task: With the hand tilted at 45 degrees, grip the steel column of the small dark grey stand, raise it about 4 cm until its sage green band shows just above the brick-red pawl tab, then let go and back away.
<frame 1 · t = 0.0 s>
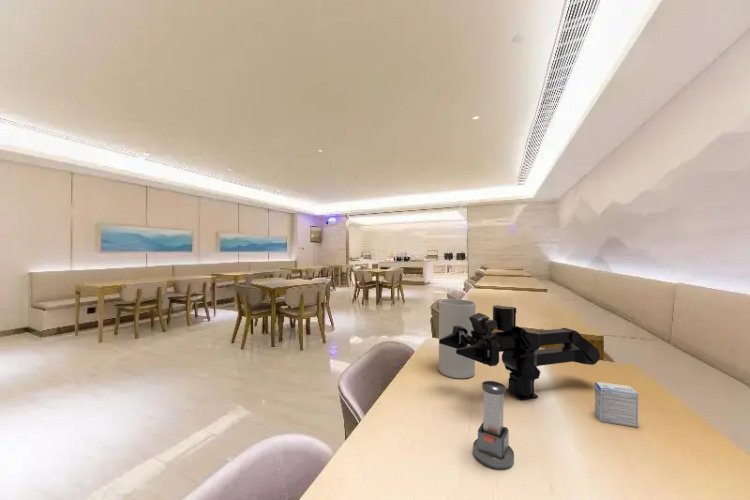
hand: (447, 346, 84), 17 cm above the table, tool horizontal, fingers open, 9 cm apart
medicine box: (615, 421, 77), on the table
cylinder vase: (456, 372, 107), on the table
column: (493, 416, 63), point 8 cm above the table, slide at 0.0 cm
stand: (493, 456, 63), on the table
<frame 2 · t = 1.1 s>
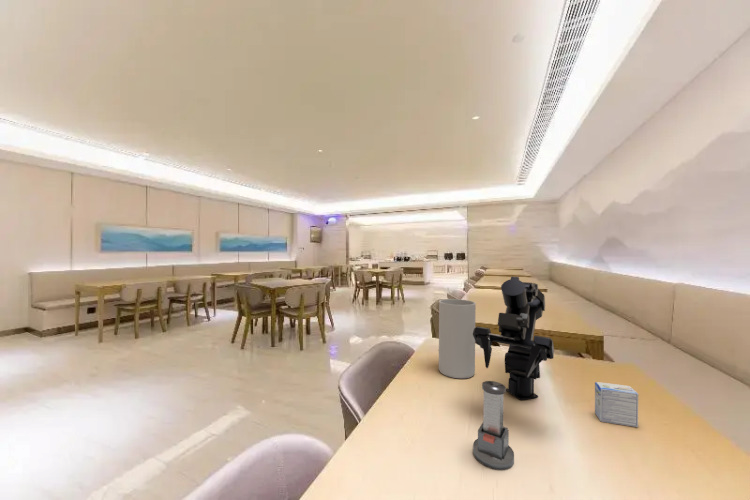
hand: (505, 371, 73), 14 cm above the table, tool tilted 45°, fingers open, 9 cm apart
nothing on the table moved.
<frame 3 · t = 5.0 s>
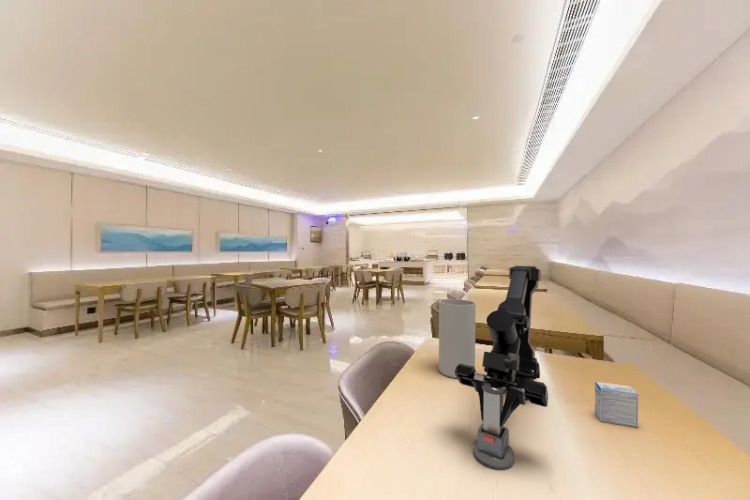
hand: (491, 423, 62), 8 cm above the table, tool tilted 45°, fingers closed on column, 3 cm apart
column: (493, 416, 63), point 8 cm above the table, slide at 0.0 cm, touching gripper
everything else where it was.
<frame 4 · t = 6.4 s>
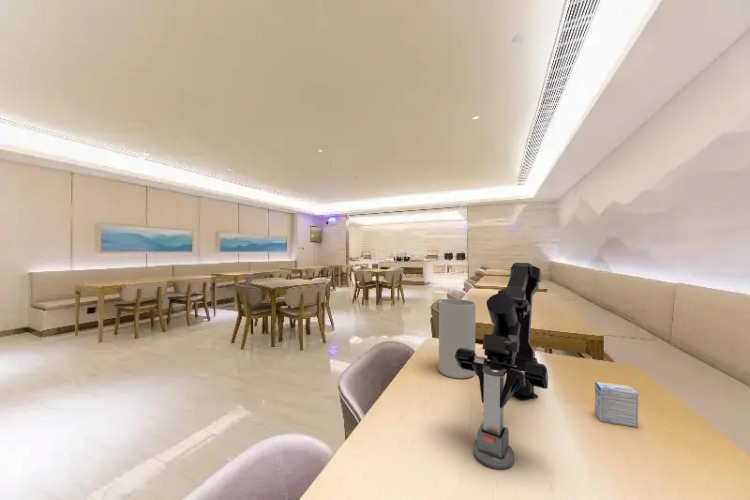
hand: (491, 404, 62), 11 cm above the table, tool tilted 45°, fingers closed on column, 3 cm apart
column: (493, 398, 63), point 12 cm above the table, slide at 3.7 cm, touching gripper
everything else where it was.
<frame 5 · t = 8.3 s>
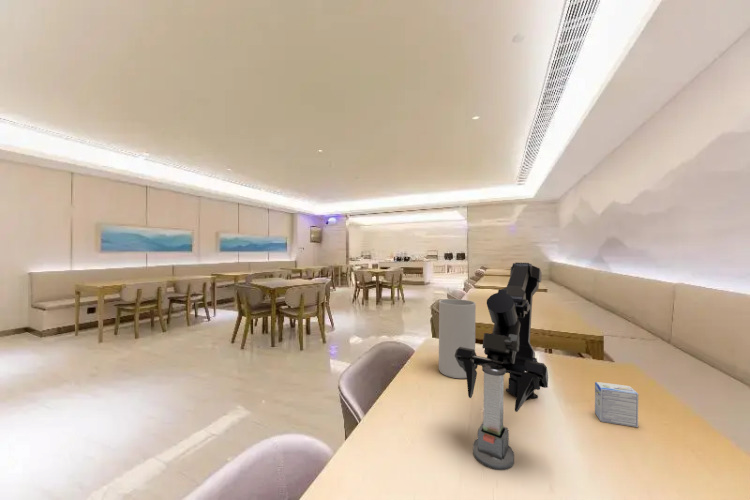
hand: (491, 403, 62), 12 cm above the table, tool tilted 45°, fingers open, 9 cm apart
column: (493, 398, 63), point 12 cm above the table, slide at 3.9 cm
everything else where it was.
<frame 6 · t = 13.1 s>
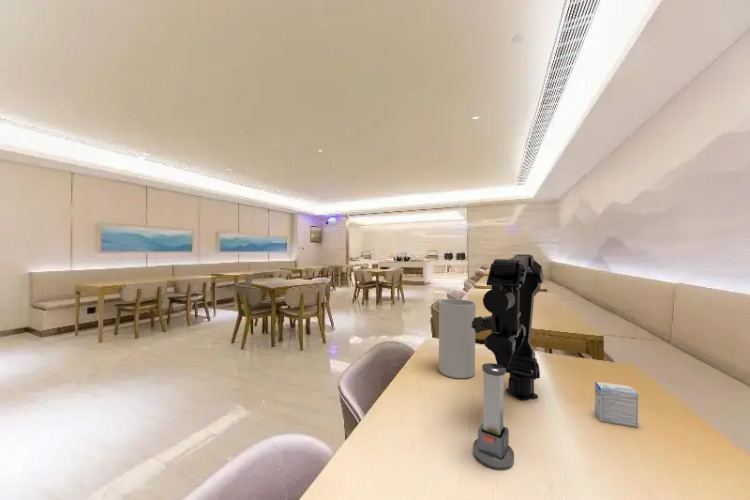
hand: (506, 368, 77), 13 cm above the table, tool pointing down, fingers open, 9 cm apart
nothing on the table moved.
at the end: column slide at 3.9 cm; the gripper is holding nothing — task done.
